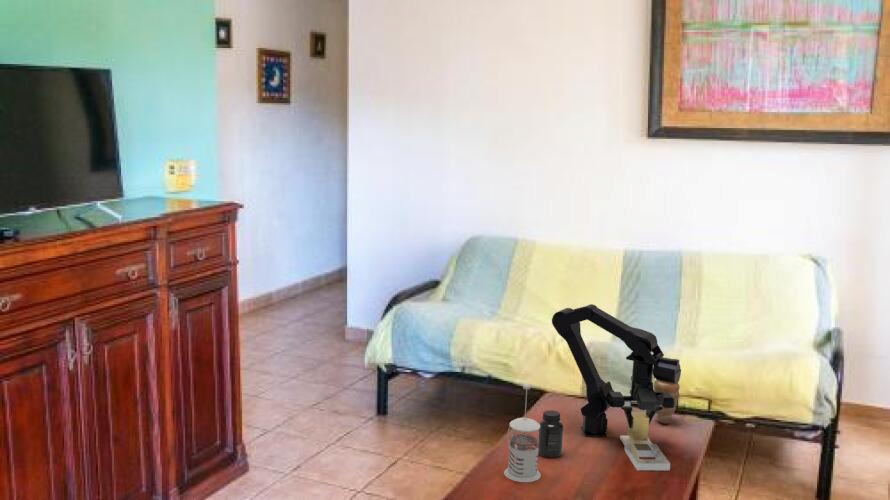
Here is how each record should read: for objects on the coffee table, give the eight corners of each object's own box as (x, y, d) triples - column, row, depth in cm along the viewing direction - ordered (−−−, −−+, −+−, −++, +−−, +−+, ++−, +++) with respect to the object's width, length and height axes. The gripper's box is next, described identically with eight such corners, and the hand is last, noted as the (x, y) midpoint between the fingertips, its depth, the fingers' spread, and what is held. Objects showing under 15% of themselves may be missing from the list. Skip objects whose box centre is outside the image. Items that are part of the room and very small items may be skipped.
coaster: (627, 449, 237) (627, 446, 237) (619, 438, 245) (620, 435, 245) (654, 449, 238) (654, 447, 238) (646, 438, 246) (646, 435, 246)
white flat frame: (637, 470, 224) (637, 463, 224) (624, 450, 237) (624, 443, 237) (669, 470, 225) (670, 463, 224) (655, 450, 237) (655, 443, 237)
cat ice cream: (659, 415, 264) (664, 361, 261) (682, 422, 259) (686, 367, 255) (645, 422, 258) (649, 367, 254) (667, 430, 252) (672, 373, 249)
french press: (516, 485, 214) (521, 392, 209) (493, 466, 224) (497, 378, 219) (548, 478, 218) (553, 387, 213) (524, 460, 228) (528, 373, 224)
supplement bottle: (564, 451, 235) (567, 411, 233) (557, 460, 229) (560, 419, 227) (541, 446, 238) (544, 406, 235) (534, 455, 232) (536, 414, 229)
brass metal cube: (631, 440, 239) (633, 417, 238) (627, 434, 243) (629, 411, 242) (647, 440, 239) (649, 417, 238) (642, 434, 244) (644, 411, 242)
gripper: (617, 385, 229) (613, 438, 232) (683, 386, 231) (678, 439, 233) (607, 372, 240) (603, 423, 243) (670, 373, 241) (666, 423, 244)
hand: (638, 427), depth 241 cm, fingers closed on brass metal cube, 4 cm apart
